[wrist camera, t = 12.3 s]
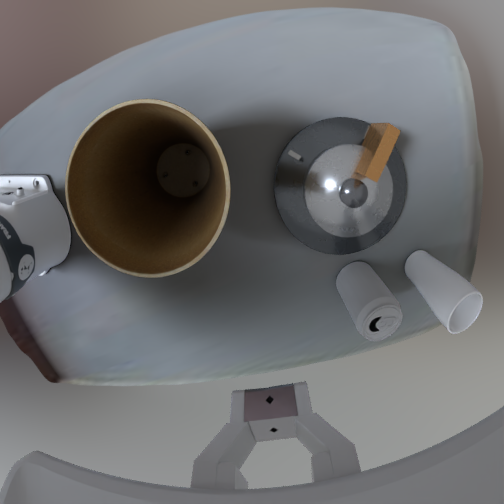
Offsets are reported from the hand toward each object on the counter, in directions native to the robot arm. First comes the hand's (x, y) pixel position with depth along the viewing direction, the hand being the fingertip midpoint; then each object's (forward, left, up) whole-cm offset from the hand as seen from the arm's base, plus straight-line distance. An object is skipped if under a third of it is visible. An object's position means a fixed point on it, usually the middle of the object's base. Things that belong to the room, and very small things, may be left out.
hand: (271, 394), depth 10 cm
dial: (+10, +9, -28) cm, 31 cm away
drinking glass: (+28, +1, -29) cm, 40 cm away
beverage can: (+18, -5, -29) cm, 35 cm away
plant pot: (-11, +2, -29) cm, 31 cm away
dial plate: (+10, +7, -29) cm, 32 cm away
